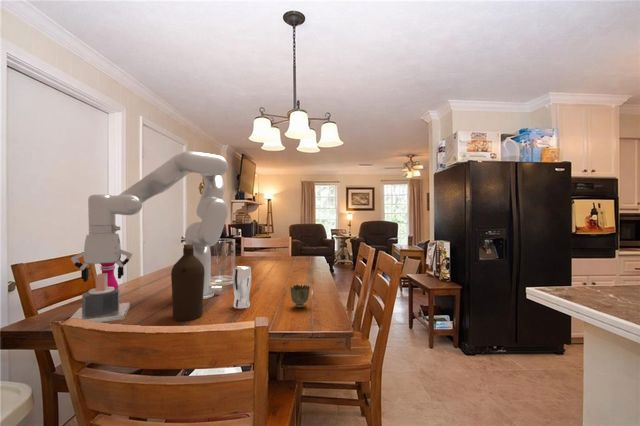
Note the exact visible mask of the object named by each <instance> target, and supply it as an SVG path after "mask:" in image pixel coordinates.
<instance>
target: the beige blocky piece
mask: <svg viewBox="0 0 640 426" xmlns="http://www.w3.org/2000/svg"><path fill="white" fill-rule="evenodd" d="M107 276H108V273H104V274H102V273H99V274H97V275H96V276H95V288H91V289H88V292H89V295H103V294H108V293H112V292H114V287H107Z"/></svg>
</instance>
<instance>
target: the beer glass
mask: <svg viewBox="0 0 640 426" xmlns="http://www.w3.org/2000/svg"><path fill="white" fill-rule="evenodd" d="M251 285H252V267H251V266H249V265H240V266H239V265H237V266H234V267H233V268H232V287H233V288H232V289H233V294H234V300H233V306H232V307H233V308H234V309H236V310H237V309H238V310H243V309H244V308H245V309H248V308H250V306H251V304H250V291H251ZM245 309H244V310H245Z"/></svg>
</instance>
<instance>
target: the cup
mask: <svg viewBox="0 0 640 426" xmlns="http://www.w3.org/2000/svg"><path fill="white" fill-rule="evenodd" d="M289 287H290V288H289V290H290V297H291V301H292V302H293V303H294V307H295V308H296V307H299V308H298V309H301V308H300V307H303V308H305V307H306V306H305V304H307V302H308V300H309V295H310V288H311V286H309V285H307V284H303V285H302V284H300V285H299V284H296V285H295V284H294V285H293V286H289Z"/></svg>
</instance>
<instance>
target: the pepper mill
mask: <svg viewBox="0 0 640 426" xmlns="http://www.w3.org/2000/svg"><path fill="white" fill-rule="evenodd" d="M99 265H100V270H101V274H104V273H108V276H107V287H114V289H118V290H119V284H118V281H117V279H116V277H115V269H116V263H115V262H113V263H100V264H99Z"/></svg>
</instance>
